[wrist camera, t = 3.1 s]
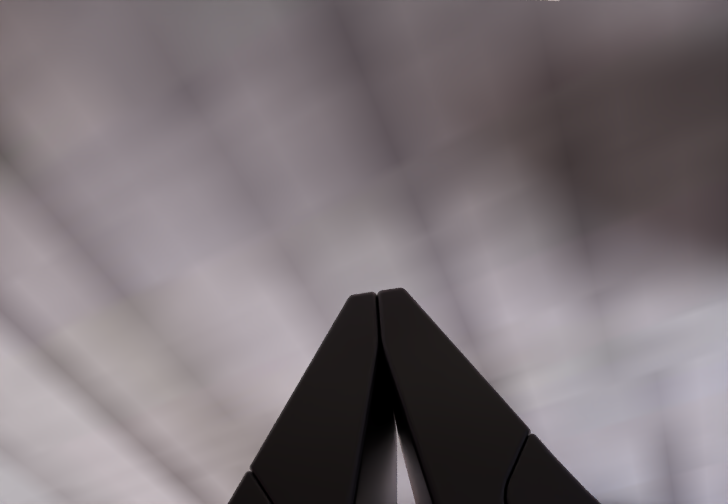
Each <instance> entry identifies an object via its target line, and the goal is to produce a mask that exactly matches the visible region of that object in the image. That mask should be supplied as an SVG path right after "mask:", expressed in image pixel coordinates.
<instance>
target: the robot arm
mask: <svg viewBox="0 0 728 504" xmlns="http://www.w3.org/2000/svg"><path fill="white" fill-rule="evenodd" d="M395 420H396V423H395ZM396 426H397V431H398V436H399V440H400V445H401V449H402V453H403V456H404V460H405V464H406V468H407V472H408V476H409V480H410V483H411V487H412V491H413V495H414V499H415V503H416V504H601V503H600V502H599V501H598V500H597V499H595V498H594V497H593V496H592V495H591V494H590V493H589V492H588V491H587V490H586V489H585V488H584V487H583V486H582V485H581V484H580V483H579V482H578V481H577V480H576V478H575V477H574V476H573V475H572V474H571V473H570V472H569V471H568V470H567V469H566V468H565V467H564V466H563V465H562V464H561V463H560V462H559V461H558V460H557V458H556V457H555V456H554V455H553V454H552V453H551V452H550V451H549V450H548V449H547V447H546V446H545V445H544V444H543V443H542V442H541V441H540V440H539V438H538V437H537V436H536V435H535V434H531V431H530V429H529V428H528V427H527V425H526V424H525V423H524V422H523V421H522V420H521V419H520V418H519V416H518V415H517V414H516V413H515V412H514V411H513V410H512V409H511V408H510V406H509V405H508V404H507V403H506V402H505V401H504V400H503V399H502V397H501V396H500V395H499V394H498V393H497V392H496V391H495V390H494V388H493V387H492V386H491V385H490V384H489V383H488V382H487V381H486V380H485V378H484V377H483V376H482V375H481V374H480V373H479V372H478V371H477V369H476V368H475V367H474V366H473V365H472V364H471V363H470V362H469V360H468V359H467V358H466V357H465V356H464V355H463V354H462V353H461V352H460V350H459V349H458V348H457V347H456V346H455V345H454V344H453V343H452V341H451V340H450V339H449V338H448V337H447V336H446V335H445V334H444V332H443V331H442V330H441V329H440V328H439V327H438V326H437V325H436V324H435V322H434V321H433V320H432V319H431V318H430V317H429V316H428V315H427V313H426V312H425V311H424V310H423V309H422V308H421V307H420V306H419V304H418V303H417V302H416V301H415V300H414V299H413V298H412V297H411V296H410V294H409V293H408V292H407V291H406V290H405V289H403V288H395V289H388V290H382V291H379V292H378V294H377V295H376V293H374V292H368V293H361V294H354V295H351V296H350V297H349V298H348V299H347V301H346V303H345V304H344V306H343V308H342V310H341V311H340V313H339V315H338V316H337V318H336V320H335V322H334V323H333V325H332V327H331V328H330V330H329V332H328V334H327V335H326V337H325V339H324V340H323V342H322V344H321V346H320V347H319V349H318V351H317V352H316V354H315V356H314V358H313V359H312V361H311V363H310V364H309V366H308V368H307V370H306V371H305V373H304V375H303V376H302V378H301V380H300V382H299V383H298V385H297V387H296V388H295V390H294V392H293V394H292V395H291V397H290V399H289V400H288V402H287V404H286V406H285V407H284V409H283V411H282V412H281V414H280V416H279V418H278V419H277V421H276V423H275V424H274V426H273V428H272V430H271V431H270V433H269V435H268V436H267V438H266V440H265V442H264V443H263V445H262V447H261V448H260V450H259V452H258V454H257V455H256V457H255V459H254V460H253V462H252V464H251V465H250V470H251V471H248V472H246V473H245V475H244V477H243V479H242V480H241V482H240V484H239V486H238V487H237V489H236V491H235V492H234V494H233V496H232V498H231V499H230V501H229V502H228V504H397V434H396Z"/></svg>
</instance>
